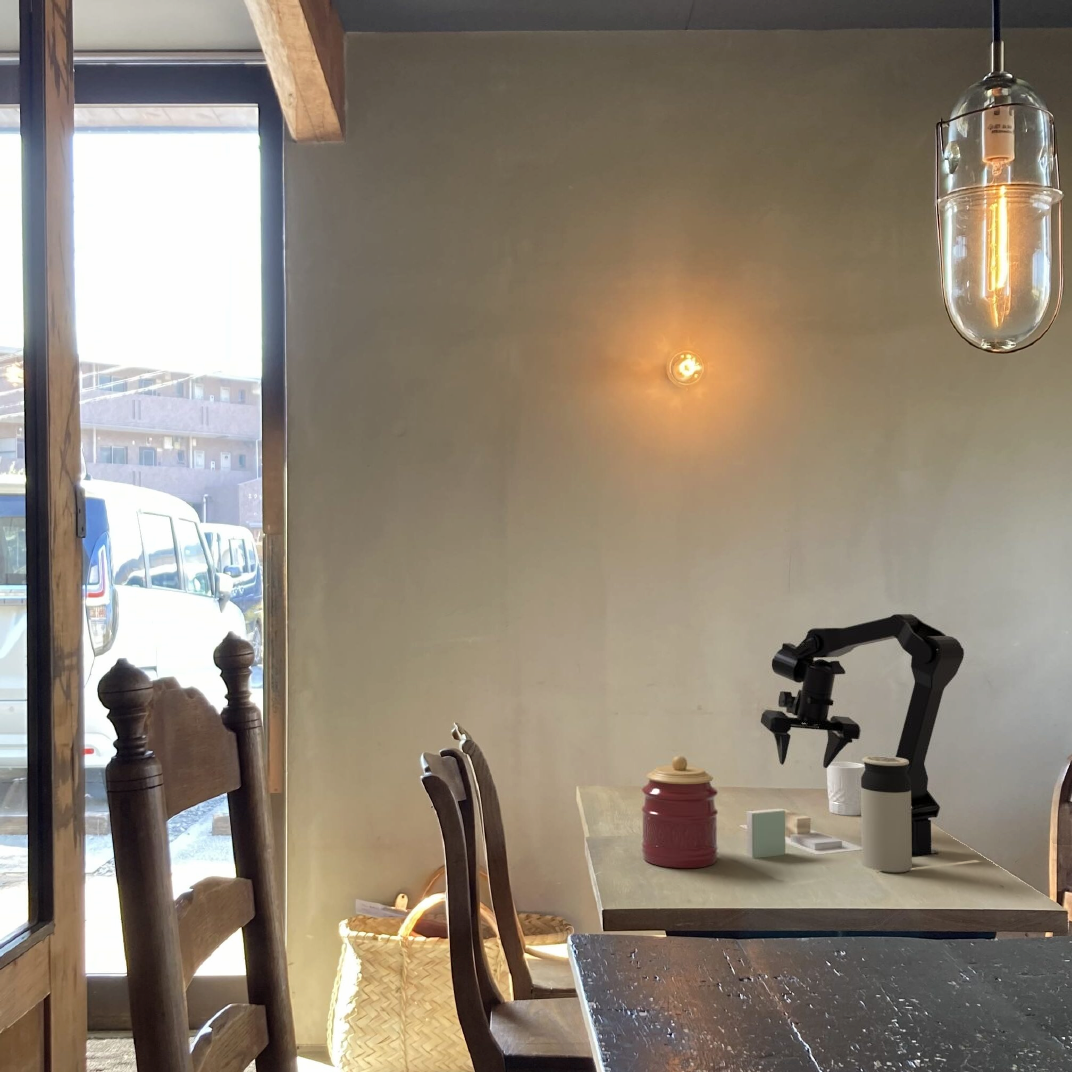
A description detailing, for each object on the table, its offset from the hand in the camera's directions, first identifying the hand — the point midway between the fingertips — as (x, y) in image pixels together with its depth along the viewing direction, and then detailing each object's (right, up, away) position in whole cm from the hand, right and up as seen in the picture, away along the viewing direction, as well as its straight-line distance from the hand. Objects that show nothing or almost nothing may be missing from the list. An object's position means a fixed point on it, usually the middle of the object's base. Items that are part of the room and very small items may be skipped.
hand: (803, 765), depth 204 cm
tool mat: (-4, -11, -12) cm, 17 cm away
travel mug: (+6, -10, -32) cm, 34 cm away
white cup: (+12, -13, +12) cm, 22 cm away
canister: (-28, -10, -28) cm, 41 cm away
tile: (-13, -10, -25) cm, 30 cm away
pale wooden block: (-4, -11, -14) cm, 18 cm away
